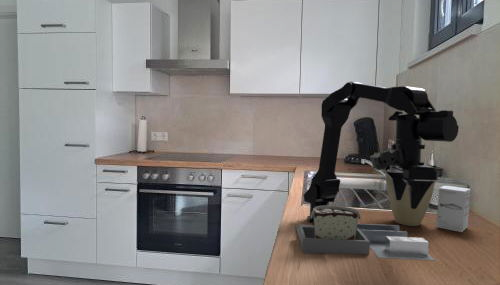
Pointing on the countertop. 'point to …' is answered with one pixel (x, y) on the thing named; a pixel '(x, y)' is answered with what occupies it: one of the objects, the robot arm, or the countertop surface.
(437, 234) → the countertop surface
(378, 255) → the grey mat
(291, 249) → the countertop surface
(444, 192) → the supplement box
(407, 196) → the plant pot
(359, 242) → the case
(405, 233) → the bracket
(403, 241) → the silver metal bar
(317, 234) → the food container
